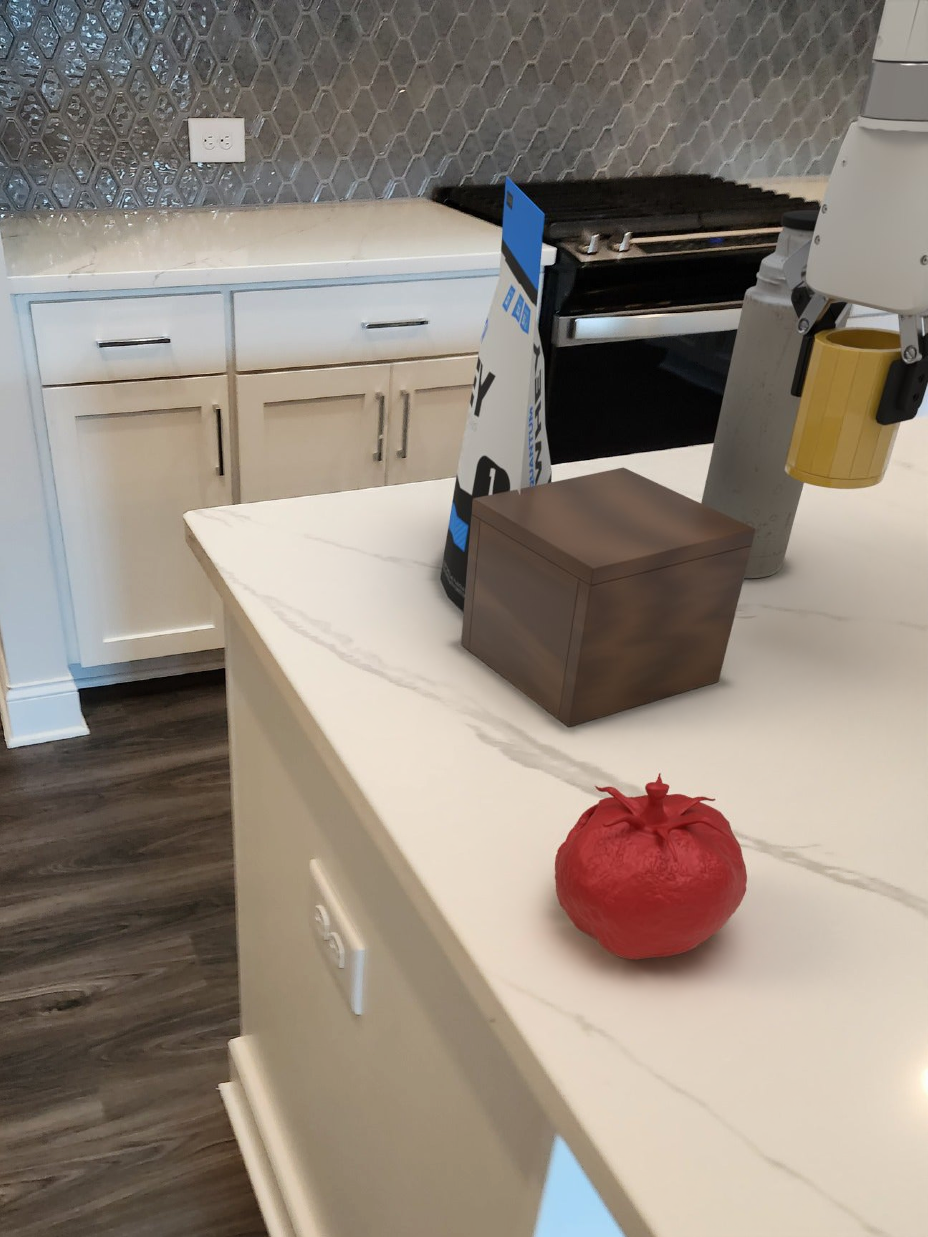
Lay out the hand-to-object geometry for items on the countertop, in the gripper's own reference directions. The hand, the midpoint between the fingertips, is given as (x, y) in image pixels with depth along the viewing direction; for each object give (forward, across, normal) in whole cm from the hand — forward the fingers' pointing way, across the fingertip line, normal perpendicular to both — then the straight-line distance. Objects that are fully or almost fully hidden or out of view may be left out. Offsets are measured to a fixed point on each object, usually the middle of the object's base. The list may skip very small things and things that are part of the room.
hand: (851, 404), depth 76 cm
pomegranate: (+19, -20, +32) cm, 42 cm away
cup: (+5, 0, 0) cm, 5 cm away
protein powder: (+19, +21, +13) cm, 31 cm away
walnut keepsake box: (+18, +5, +16) cm, 25 cm away
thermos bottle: (+19, +14, -8) cm, 25 cm away
